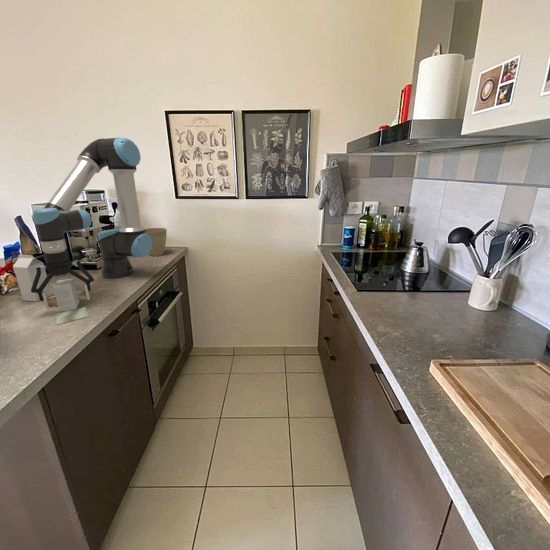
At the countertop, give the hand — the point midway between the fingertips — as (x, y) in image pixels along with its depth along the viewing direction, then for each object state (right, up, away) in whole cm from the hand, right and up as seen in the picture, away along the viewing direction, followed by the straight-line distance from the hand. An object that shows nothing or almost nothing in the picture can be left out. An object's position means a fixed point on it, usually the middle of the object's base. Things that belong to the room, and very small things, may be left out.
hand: (68, 303), depth 119 cm
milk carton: (-20, +1, +10) cm, 23 cm away
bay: (+2, -3, -2) cm, 4 cm away
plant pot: (+6, +24, +74) cm, 78 cm away
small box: (0, -2, +1) cm, 2 cm away
